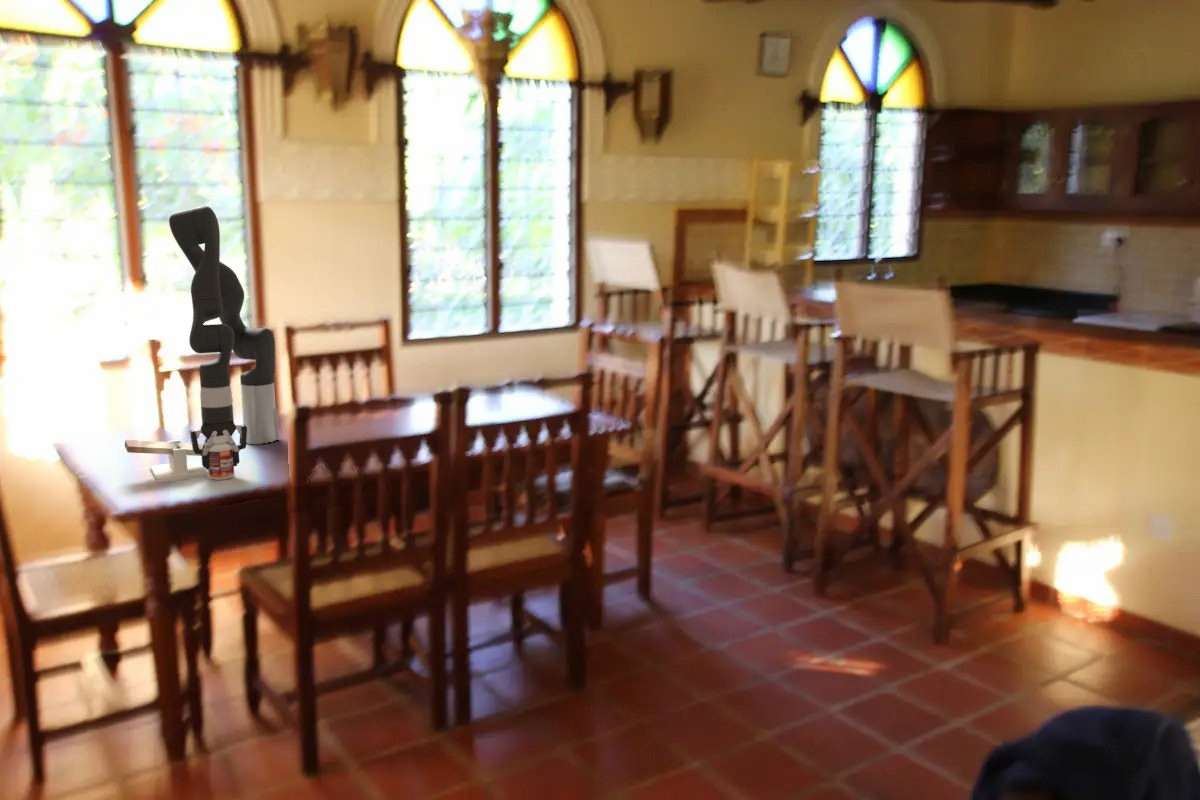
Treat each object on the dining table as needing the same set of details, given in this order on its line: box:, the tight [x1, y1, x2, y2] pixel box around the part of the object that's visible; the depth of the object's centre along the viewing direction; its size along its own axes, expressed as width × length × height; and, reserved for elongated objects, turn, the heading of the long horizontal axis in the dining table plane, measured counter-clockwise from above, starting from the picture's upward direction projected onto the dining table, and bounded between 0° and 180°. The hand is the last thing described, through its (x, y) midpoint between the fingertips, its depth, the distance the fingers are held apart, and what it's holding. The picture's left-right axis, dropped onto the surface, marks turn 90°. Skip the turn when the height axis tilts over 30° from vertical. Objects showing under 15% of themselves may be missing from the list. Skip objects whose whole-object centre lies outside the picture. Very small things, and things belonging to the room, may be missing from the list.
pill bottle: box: [207, 435, 235, 481], centre depth 268 cm, size 6×6×11 cm
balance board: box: [124, 439, 204, 457], centre depth 272 cm, size 24×8×2 cm, turn 120°
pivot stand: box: [149, 439, 209, 483], centre depth 272 cm, size 12×14×8 cm
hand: (221, 466), depth 269 cm, fingers closed on pill bottle, 6 cm apart
